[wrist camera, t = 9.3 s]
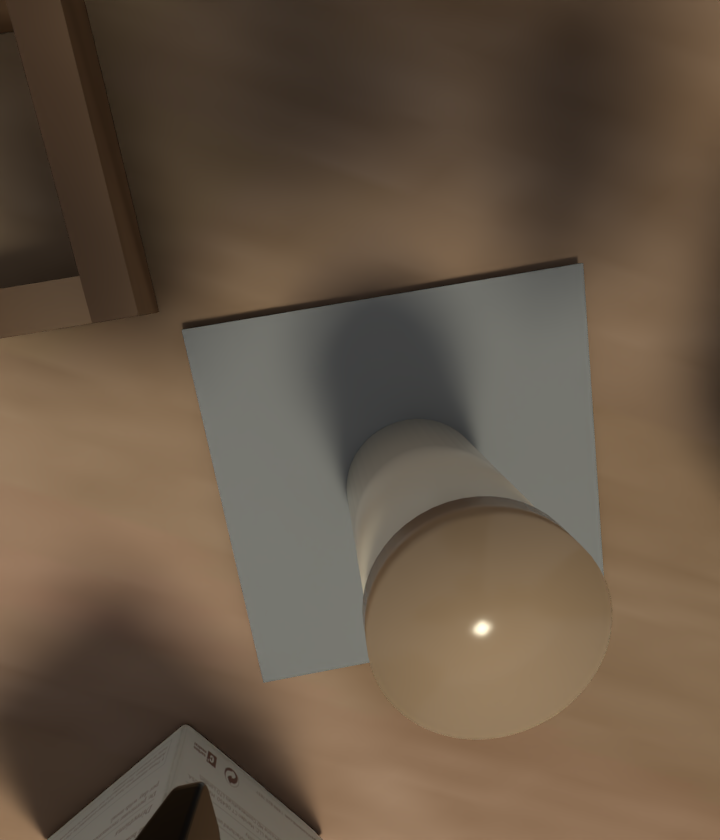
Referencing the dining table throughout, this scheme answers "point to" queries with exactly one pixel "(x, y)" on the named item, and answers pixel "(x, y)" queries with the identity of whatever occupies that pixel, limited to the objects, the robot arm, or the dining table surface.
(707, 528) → the dining table surface
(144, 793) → the supplement box
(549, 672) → the jar
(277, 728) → the dining table surface
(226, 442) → the mat
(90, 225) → the pocket frame
